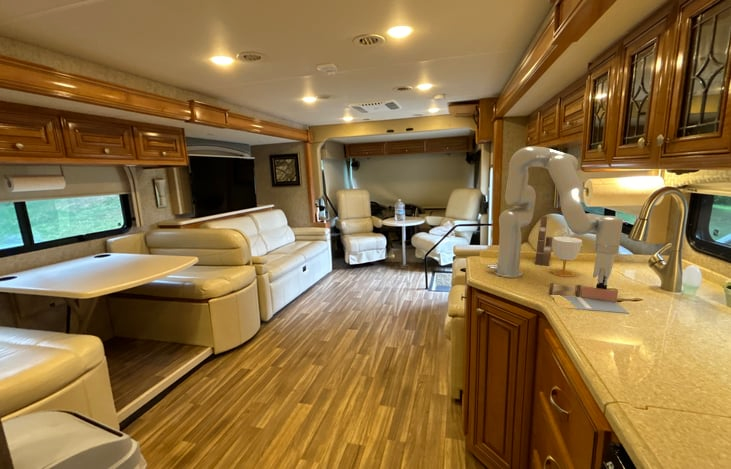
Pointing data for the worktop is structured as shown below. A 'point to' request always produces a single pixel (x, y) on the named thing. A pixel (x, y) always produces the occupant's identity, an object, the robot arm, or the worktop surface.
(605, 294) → the bar
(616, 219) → the robot arm
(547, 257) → the wooden toy
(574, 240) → the cup
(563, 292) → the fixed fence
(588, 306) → the card
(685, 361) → the worktop surface
